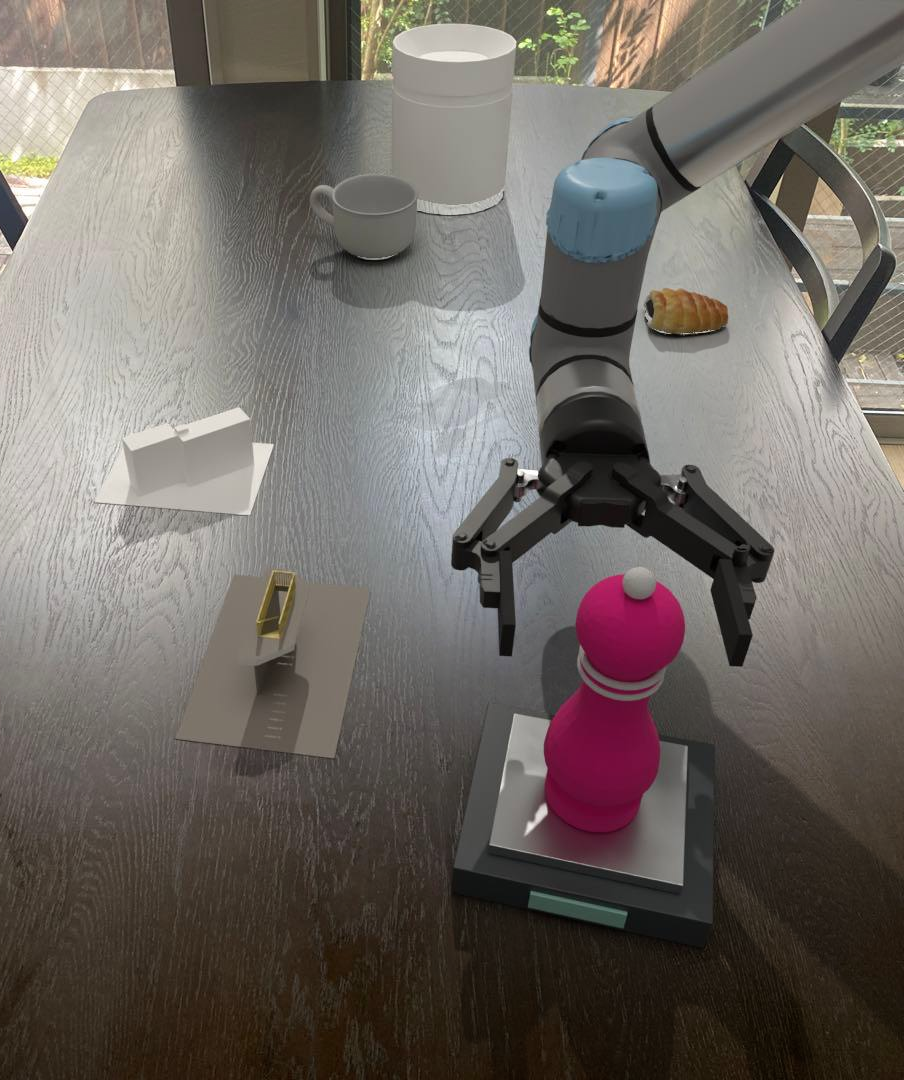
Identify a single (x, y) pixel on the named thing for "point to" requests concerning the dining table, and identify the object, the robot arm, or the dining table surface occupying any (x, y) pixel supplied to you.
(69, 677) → the dining table surface
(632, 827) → the pan
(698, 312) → the pastry
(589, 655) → the pepper mill
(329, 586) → the platform
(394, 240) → the teacup
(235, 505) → the white flat upright-walled piece
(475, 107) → the canister
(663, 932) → the scale
